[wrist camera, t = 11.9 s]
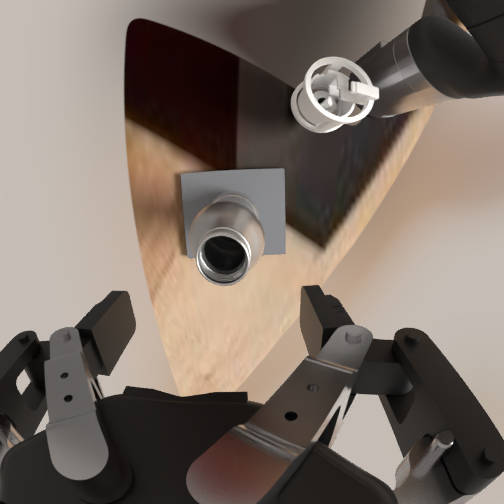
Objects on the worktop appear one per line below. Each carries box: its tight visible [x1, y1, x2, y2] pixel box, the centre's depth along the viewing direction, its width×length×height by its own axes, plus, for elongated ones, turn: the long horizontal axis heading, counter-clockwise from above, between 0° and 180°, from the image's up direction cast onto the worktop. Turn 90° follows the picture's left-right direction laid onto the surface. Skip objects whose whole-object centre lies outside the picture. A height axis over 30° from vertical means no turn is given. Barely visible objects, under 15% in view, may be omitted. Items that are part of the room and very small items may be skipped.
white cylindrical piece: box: [291, 57, 379, 133], centre depth 27 cm, size 7×7×15 cm
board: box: [181, 169, 285, 258], centre depth 38 cm, size 12×14×1 cm
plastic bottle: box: [190, 191, 265, 286], centre depth 27 cm, size 6×7×20 cm
